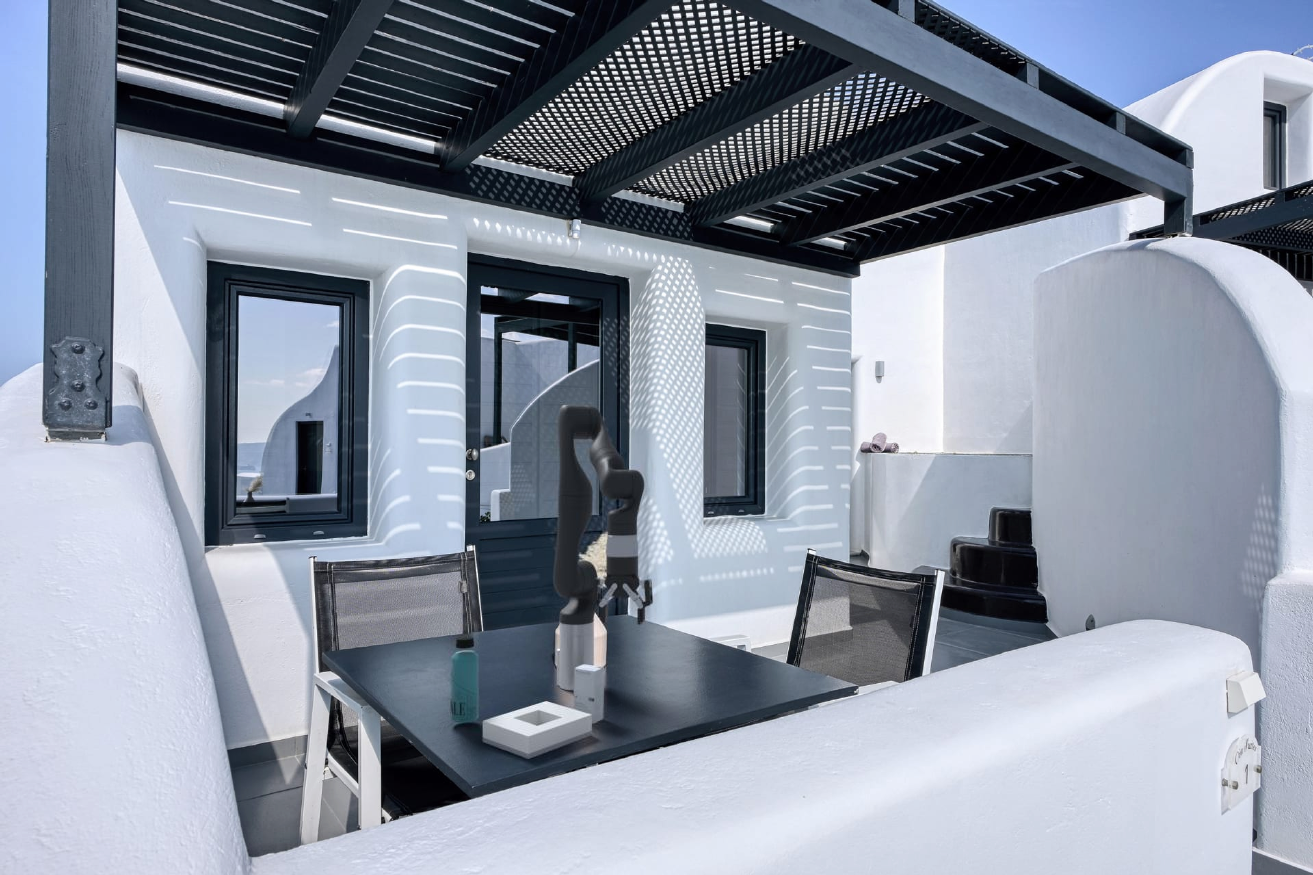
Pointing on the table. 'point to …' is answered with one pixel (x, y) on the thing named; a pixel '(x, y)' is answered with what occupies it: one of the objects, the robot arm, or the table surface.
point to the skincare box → (589, 690)
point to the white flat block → (537, 729)
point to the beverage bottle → (464, 682)
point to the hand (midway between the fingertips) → (622, 623)
